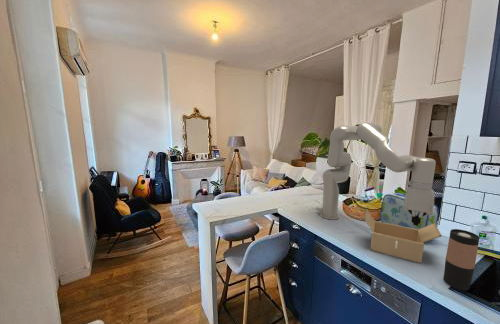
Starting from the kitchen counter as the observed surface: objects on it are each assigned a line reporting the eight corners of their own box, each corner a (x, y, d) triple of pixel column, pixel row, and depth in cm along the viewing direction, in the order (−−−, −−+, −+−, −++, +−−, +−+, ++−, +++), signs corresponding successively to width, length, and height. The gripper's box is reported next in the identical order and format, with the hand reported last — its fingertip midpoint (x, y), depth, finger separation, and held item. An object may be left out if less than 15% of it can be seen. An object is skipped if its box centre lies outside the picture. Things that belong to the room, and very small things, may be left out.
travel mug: (438, 274, 85) (445, 227, 82) (462, 278, 83) (470, 230, 80) (449, 288, 78) (458, 237, 75) (476, 293, 76) (486, 240, 73)
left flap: (373, 230, 102) (372, 230, 102) (374, 220, 113) (373, 220, 113) (364, 217, 103) (363, 217, 103) (366, 208, 114) (365, 209, 114)
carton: (370, 252, 100) (371, 234, 99) (372, 236, 116) (373, 220, 114) (422, 266, 90) (425, 247, 89) (416, 246, 106) (419, 229, 104)
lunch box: (438, 241, 111) (444, 202, 107) (424, 245, 107) (430, 205, 104) (390, 221, 135) (393, 188, 131) (377, 223, 131) (381, 190, 128)
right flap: (440, 235, 88) (441, 236, 88) (434, 223, 99) (435, 224, 99) (422, 241, 92) (423, 242, 92) (418, 229, 103) (419, 230, 103)
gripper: (401, 185, 96) (395, 223, 99) (445, 190, 88) (438, 232, 91) (400, 181, 102) (395, 217, 105) (441, 186, 94) (434, 225, 97)
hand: (415, 224), depth 98 cm, fingers closed
